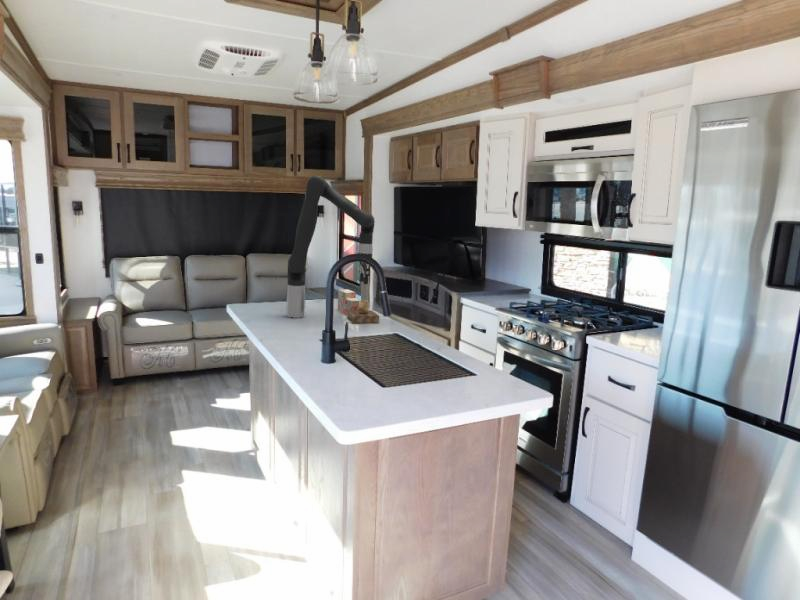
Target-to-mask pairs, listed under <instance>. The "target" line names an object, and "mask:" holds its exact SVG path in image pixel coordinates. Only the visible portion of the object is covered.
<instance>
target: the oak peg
mask: <svg viewBox="0 0 800 600" xmlns="http://www.w3.org/2000/svg"><path fill="white" fill-rule="evenodd" d="M369 306H370V304H369V300H365V299H364V300H363V299H361V301H359V314H368V311H370V310H369Z"/></svg>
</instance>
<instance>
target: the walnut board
mask: <svg viewBox="0 0 800 600" xmlns="http://www.w3.org/2000/svg"><path fill="white" fill-rule="evenodd" d="M346 316H347V317H346V318H347V319H348V320H349V321H350V322H351V323H352V325H353V324H354V325H356V324H359V325H360V324H364V325H365V324H380V315H379V314H378V313H376V312H375V311H374V310H368V314H359V311H348V315H346Z"/></svg>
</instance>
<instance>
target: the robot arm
mask: <svg viewBox="0 0 800 600" xmlns="http://www.w3.org/2000/svg"><path fill="white" fill-rule="evenodd" d="M321 197H322V198H324V199H325V200H327V201H329V202H330V203H332V204H333V205H334V206H335V207H336V208H338V209H339V210H340V211H341V212H343V213H344V214H345V215H347V216H348V217H349V218H351V219H352V220H353V221H354V222H355V223H357V224H358V225H359V226H361V228H360V229H361V230H360V233H359V235H358V236H359V237H358V247H357V255H358V254H361V255H365V256H368V257H370V258H372V259H373V240H374V239H373V237H374V236H373V235H374V229H375V222H376V221H375V218H374V216H373V215H372V214H370V213H366V212H365V211H364V210H362V208H360V206H358V204H356V203H354V202H353V201H352V200H350V199H348V198H347V197H345V195H342V194H341V193H339V192H338V191H336V189H334V188H333V186H331V185H330V184H329V183H328V182H327V181H326V180H325V178H323V177H321V176H319V175H313V176H311V177H310V178H309V179H308V181H307V183H306V190H305V197H304V201H303V204H302V208H301V211H300V215H299V218H298V222H297V226H296V231H295V237H294V238H295V239H294V246H293V249H292V252H291V255H290V256H289V257H288V259H287V294H286V317H287V318H291V317H293V319H299V318H300V317H301V318H304V317H305V312H306V311H305V307H306V305H305V304H306V303H305V302H306V265H307V259H308V258H307V257H308V251H309V247H310V244H311V242H312V241H313V240H312V239H313V237H314V234H315V231H316V228H317V227H316V226H317V222H318V209H319V208H318V207H319V202H320V198H321ZM358 262H359V264H358V265H359V266H358V267H359V268H358V273H359V281H360V283H361V282H362V283H363V285H368V284H369V277H370V276H371V265H370V264H369V263H368V264H365V263H362V262H361V261H358ZM369 265H370V266H369Z"/></svg>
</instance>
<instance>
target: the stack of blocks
mask: <svg viewBox="0 0 800 600" xmlns="http://www.w3.org/2000/svg"><path fill="white" fill-rule="evenodd" d="M337 292H338V293H337V310H338V311H339V312H340V311H341V312H340V313H342V314H344V315H346V316H347V315H348V311H359V301H361V300H362V299H361V300H360V299H359V298H356V295H357V293H356V292H355V291H353V290H350V289H338V290H337Z"/></svg>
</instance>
